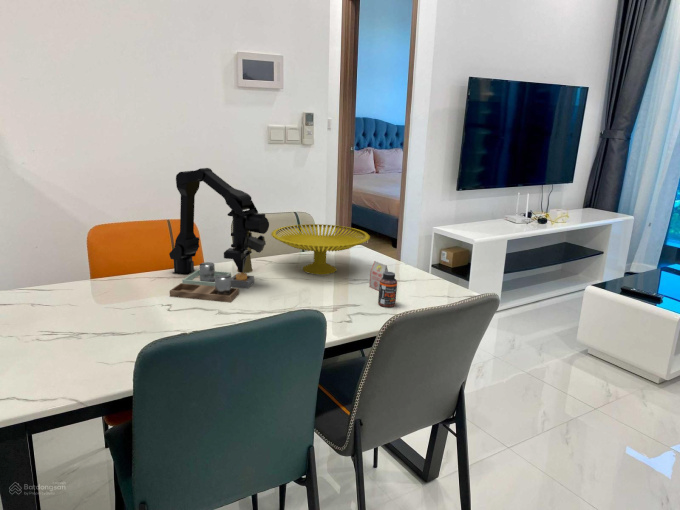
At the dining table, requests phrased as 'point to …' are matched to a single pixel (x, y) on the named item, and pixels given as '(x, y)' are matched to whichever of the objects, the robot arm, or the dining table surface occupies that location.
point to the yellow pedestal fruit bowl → (320, 243)
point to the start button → (241, 276)
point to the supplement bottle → (387, 290)
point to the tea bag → (377, 274)
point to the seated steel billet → (223, 285)
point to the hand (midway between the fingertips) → (241, 271)
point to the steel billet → (207, 272)
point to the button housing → (242, 282)
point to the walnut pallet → (201, 292)
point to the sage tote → (190, 281)
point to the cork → (247, 264)
